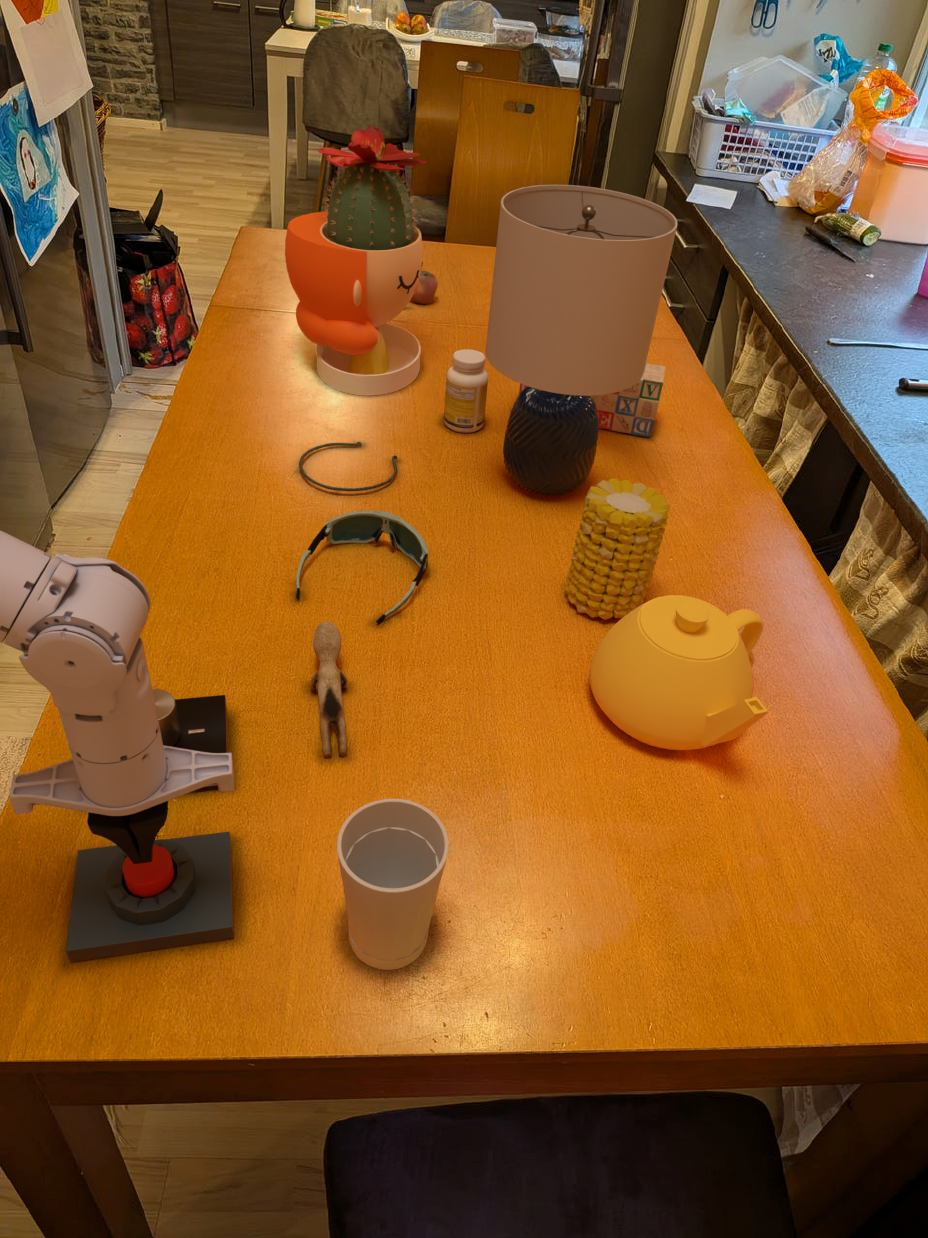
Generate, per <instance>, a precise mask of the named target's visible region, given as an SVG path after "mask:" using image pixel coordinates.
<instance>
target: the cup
mask: <svg viewBox="0 0 928 1238" xmlns="http://www.w3.org/2000/svg"><path fill="white" fill-rule="evenodd" d="M449 851H450V841H449V835H448V831H447V830H446V828H445V826H444V823H442V821H441V820H440V818H439V817H438V816H437V815H436V814H435V813H434V812H433V811H431V810H430V809H429V808H427V807H426V806H424V805H422V804H421V803H418V802H415V801H412V800H410V799H409V800H408V799H403V798H383V799H382V798H381V799H378V800H373V801H370V802H368V803H365V804H363V805H362V806H360V807H359V808H357V809H356V810H353V812H352V813H351V814H349V816H348V817H347V818H346V819H345V821H344V822H343V823H342V826H341V827H340V829H339V832H338V835H337V839H336V852H337V853H336V854H337V858H338V865H339V870H340V875H341V877H340V878H341V881H342V887H343V888H342V889H343V894H344V901H345V902H344V903H345V909H346V915H347V916H346V917H347V923H348V942H349V945H350V947H351V949H352V950H351V951H352V952H353V953H354V955H355V956H356V957H357V958H358V959H359V960H360V961H361V962H363V963H364V964H365V965H367V966H369V967H370V968H371V967H372V968H374V969H377V970H384V971H392V970H398V969H401V968H405V967H407V966H409V965H410V964H412V963H413V962H415V961H416V960H417V959H418V958H419V957H420V956H421V954H422V953H423V952H424V949H425V948H426V945H427V943H428V938H429V928H430V924H431V921H432V917H433V913H434V909H435V904H436V901H437V897H438V892H439V888H440V884H441V882H442V877H443V874H444V870H445V867H446V863H447V860H448V856H449Z"/></svg>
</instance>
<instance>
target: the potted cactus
mask: <svg viewBox="0 0 928 1238" xmlns="http://www.w3.org/2000/svg"><path fill="white" fill-rule="evenodd" d="M350 140H351V141H350V142H349V143H348V145H347V149H348V151H345V150H342V149H339V148H335V147H327V146H324V147H319V148H318V153H320V154H323V155H325V158H326V159H325V160H326V162H329V163H330V164H332V165H334V166H335V167H337V168H340V170H339V169H337V171H336V175H334V178H335V179H336V181H334V179H333V178H332V180H330V183H331V185H328V191H329V193H327V195H326V197H327V196H328V197H330V198H325V199H324V202H323V204H324V206H326V207H324V209H323V211H318V212H317V211H315V212H310V213H306V214H302V215H298V216H297V217H294V218H292V219H291V220H290V221H289V222H288V223H287V224H288V225H287V229H286V234H285V241H284V259H285V264H286V265H285V267H286V271H287V275H288V279H289V282H290V285H291V287H292V289H293V291H294V294H295V295H296V296H297V298H298V301H299V302H298V303H297V304H296V308H295V319H296V323H297V326H298V328H299V330H300V331H301V333H302V334H303V335H304V336H305V338H306V339H308V340H309V341H310V342H311V343H312V344H315V345H316V348H315V349H316V372H317V375H318V377H319V379H320V380H321V381H322V382H323V383H325V385H327V386H329V387H330V388H332V389H334V390H336V391H338V392H341V393H344V394H348V395H354V396H355V395H356V396H365V397H366V396H369V397H370V396H381V395H388V394H391V393H394V392H397V391H399V390H402V389H404V388H406V387H408V386H409V385H411V384H412V383H413V382H414V381H415V380H416V379H417V378H418V375H419V374H420V371H421V370H420V369H421V351H422V346H421V343H420V341H419V339H418V338H417V337H416V335H414V334H413V333H412V331H411V332H410V331H409V330H408V329H406V328H404V327H402V326H400V325H399V326H398V325H396V324H393V323H389V322H391V321H393V320H394V319H396V318H397V317H398V316H399V315H400V314H401V313H402V312H403V311H405V310H406V309H407V306H408V305H409V303H410V301H412V300H411V298H412V296H413V294H414V295H415V294H417V292H418V290H419V285H420V282H419V278H420V273H421V271H422V267H423V264H424V262H423V259H424V258H423V256H424V254H423V252H424V249H423V247H424V246H423V237H422V232H421V230H420V228H418V224H415V223H418V222H419V220H418V219H417V217H416V218H413V216H418V215H419V214H417V211H418V210H417V209H418V208H412V207H415V204H416V201H415V198H411V199H410V197H413V196H414V197H415V196H416V195H415V192H414V191H412V189H411V188H412V187H410V182H407V183H406V172H405V173H403V172H402V173H403V174H402V175H400V171H405V170H406V168H404V167H411V166H412V167H413V166H414V167H415V166H423V165H426V164H427V161H424V160H422V159H420V158H419V159H417V157H419V156H420V155H421V154H420V153H419V152H407V151H405V150H402V149H398V148H397V146H396V145H395V144H392V143H387V144H385V136H384V134H383V132H382V131H381V130H380V129H379V128H377V127H375V126H373V125H370V126H368V127H366V128H365V129H357V130H355V131H354V132H353V133H352V134H351V139H350ZM349 151H350V152H349ZM340 172H341V173H340ZM405 183H406V184H405ZM410 189H411V190H410ZM410 191H412V192H410ZM409 192H410V193H409ZM327 202H328V203H327Z"/></svg>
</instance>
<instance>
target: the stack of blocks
mask: <svg viewBox="0 0 928 1238" xmlns="http://www.w3.org/2000/svg"><path fill="white" fill-rule="evenodd" d="M665 373H666V366H665V365H661V364H653V363H646V364H645V369H644V373H643V376H642V378H641V379H640V380H639V381H638V382H637V383H636V384H635V385H633V386H632V387H630V388H628V389H625V390H622V391H619V392H615V393H610V394H604V395H590V397H592V398H593V400H594V402H595V404H596V408H597V412H598V423H599V427H598V429H603V430H608V431H612V432H618V433H624V434H628V435H629V434H630V435H634V436H639V437H645V438H651V436H652V433H653V427H654V424H655V421H656V417H657V414H658V413H657V412H658V407H659V404H660V399H661V394H662V392H663V391H662V390H663V386H664V382H665ZM526 387H528V386H526V385H523V384H521V383H519V391H518V395H519V394H520V393H521V391H522V390H523V389H525V388H526Z"/></svg>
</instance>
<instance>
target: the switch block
mask: <svg viewBox="0 0 928 1238" xmlns="http://www.w3.org/2000/svg"><path fill="white" fill-rule="evenodd" d="M231 839H232V838H231V831H222V832H213V833H205V834H199V835H198V834H197V835H190V836H181V837H173V838H166V839H165V838H161V839H160V838H159V839H155V841H154V844H153V845H157V846H160V847H163V848H164V849H166V850H167V851H168V852H169V854H170V856H171V859H172V864H173V868H174V878H173V881H172V883H171V885H170V886H169V887H168V888H167V889H166V890H165V891H164V892H162V893H160V894H158V895H156V896H153V897H139V896H136V895H134V894H132V893H131V892H130V891H129V889H128V888H127V885H126V881H125V878H124V874H123V864H124V862H125V860H126V858H127V857H128V856H127V855H126V854H125V853H124V852H123V851H122V850H121V849H120V848H119V847H118V846H117V845H116V844H115V845H110V846H109V845H107V846H101V847H92V848H84V849H78V850H77V858H76V866H75V874H74V882H73V890H72V899H71V905H70V913H69V914H70V915H69V921H68V932H67V939H66V947H65V952H66V955H67V957H68V961H69V962H70V963H78V962H83V961H89V960H90V961H91V960H96V959H104V958H111V957H118V956H123V955H124V956H125V955H129V954H130V955H131V954H136V953H143V952H150V951H158V950H164V949H171V948H177V947H183V946H185V947H186V946H190V945H191V946H193V945H198V944H205V943H211V942H218V941H224V940H225V941H226V940H232V939H234V937H235V936H234V935H235V934H234V933H235V932H234V897H233V895H234V893H233V862H232V861H233V859H232V858H233V856H232V840H231Z"/></svg>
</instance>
